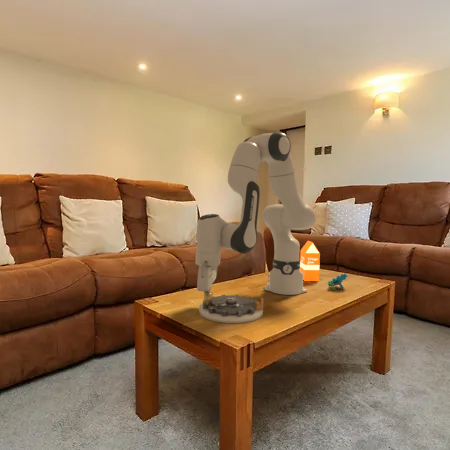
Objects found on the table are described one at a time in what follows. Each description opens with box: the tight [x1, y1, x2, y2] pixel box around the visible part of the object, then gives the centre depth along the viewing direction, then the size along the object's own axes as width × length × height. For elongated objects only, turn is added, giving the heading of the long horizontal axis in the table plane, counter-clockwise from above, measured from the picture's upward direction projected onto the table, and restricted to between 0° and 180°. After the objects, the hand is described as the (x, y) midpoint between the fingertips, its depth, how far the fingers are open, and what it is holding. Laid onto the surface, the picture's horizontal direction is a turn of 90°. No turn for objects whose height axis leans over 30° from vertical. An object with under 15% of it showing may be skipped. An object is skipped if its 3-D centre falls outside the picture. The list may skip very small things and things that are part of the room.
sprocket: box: [201, 291, 261, 317], centre depth 119 cm, size 21×21×6 cm
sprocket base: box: [198, 297, 265, 324], centre depth 119 cm, size 23×23×6 cm
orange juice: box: [299, 240, 321, 282], centre depth 172 cm, size 8×9×20 cm
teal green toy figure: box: [327, 273, 348, 290], centre depth 155 cm, size 11×6×10 cm
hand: (206, 297), depth 120 cm, fingers closed
